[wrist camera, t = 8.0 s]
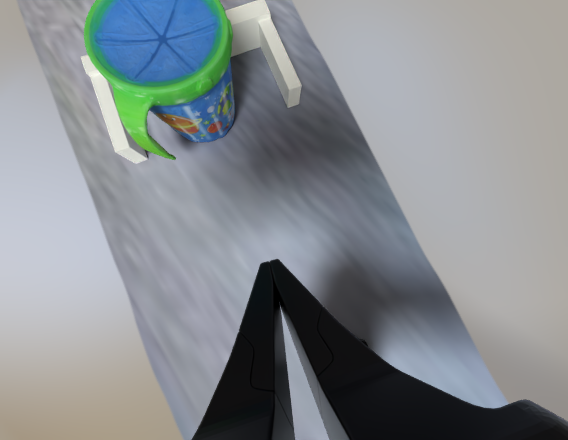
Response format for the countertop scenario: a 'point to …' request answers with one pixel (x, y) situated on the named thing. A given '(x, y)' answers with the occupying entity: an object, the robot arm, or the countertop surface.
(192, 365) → the countertop surface
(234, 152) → the countertop surface
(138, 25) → the snack cup
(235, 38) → the centring cradle
